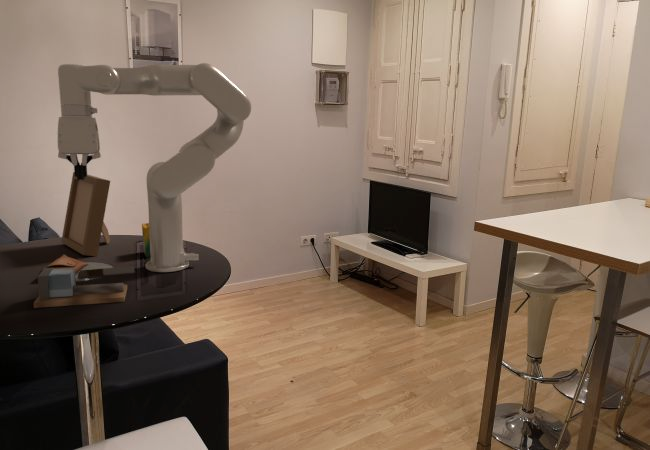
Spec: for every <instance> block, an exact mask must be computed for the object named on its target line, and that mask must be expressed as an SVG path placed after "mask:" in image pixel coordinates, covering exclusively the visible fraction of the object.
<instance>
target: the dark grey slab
mask: <svg viewBox="0 0 650 450" xmlns="http://www.w3.org/2000/svg"><path fill="white" fill-rule="evenodd" d="M42 269H43V271H42V272H41V273H40V272H39V273H40V274H39V273H38V274H39V275H38V274H37V284H38V296H39V297H40V301H41V300H49V299H50V298H51V297H50V295H49V283H48V275H49V274H50V272H51V271H52V270H53V268H45V267H43V268H42Z"/></svg>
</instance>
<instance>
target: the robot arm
mask: <svg viewBox="0 0 650 450" xmlns="http://www.w3.org/2000/svg"><path fill="white" fill-rule="evenodd" d="M57 75H58V86H59V87H58V88H59V100H60V112H61V116H59V117H58V122H57V149H58V154H57V158H59V159H63V160H67V161H68V162H69V163H70V164H72V165H73V172H75V177H77V180H80V179H81V180H84V179H85V177H87V175H88V168H87V167H88V164H89V163H90V162H91V161H92V160H95V159H99V158H101V157H102V156H101V152H100V149H101V148H100V147H101V146H100V138H99V137H100V135H99V129H98V123H97V120H96V117H93V115H95V114H98V108H97V107H93V106H92V97H91V92H92V93H99V94H102V95H113V96H114V95H147V96H154V97H155V96H156V97H157V96H202V97H203V98H204V99H205V100H206V101H207V102H208V103H210V104H211V105H212V106H213V107H215V109H216V112H217V113H216V114H217V115H216V119H215V121H214V122H213V123H212V125H210V126H209V127H208V128H207V129H205V130H204V131H203V132H201V133H200V134H199V135H197V136H196V137H194V138H192V139H191V140H190V141H188V142H186V143H185V144H183V145H182V146H181V147H180V149H179V151H178V153H176V154H175V155H173V156H172V157H170V158H169V159H168V160H166V161H159V162H156V163H154V164H153V165H151V167H150V168H149V169H148V170H147V174H146V191H147V193H146V194H147V204H148V223H149V233H150V255H151V257H150V260H148V261H147V262H146V263H145V269H146V270H148V271H150V272H156V273H172V272H178V271H183V270H184V269H187V268H189V265H190V261H199V260H200V259H199V258H200V255H199V253H195V252H190V253H187V252H185V249H184V240H183V238H184V237H183V236H184V234H183V232H184V230H183V203H182V202H183V200H182V193H184V192H186V191H187V190H188V189H190V188H191V187H192V186H194V185H195V184H197V183H198V182H199V181H201V180H202V179H204V178H205V177H206V176H208V175H209V173H211V171H212V170H213V168H214V166H215V162H216V160H217V159H218V158H219V157H221V156H222V155H223V154H225V153H226V152H227V151H229V149H231V148H232V147H233V146H234V145H235V144H236V143H237V142H238V140H239V139H240V137H241V135H242V132H243V128H244V122H245V121H246V120H247V119H248V118H249V116H250V114H251V112H252V103H251V100H250V99H249V98H248V96H247V95H246V94H245V93H244V91H242V90H241V89H240V88H239V87H238V86H236V84H234V83H233V82H232V81H231V80H230V79H228V77H226V76H225V75H224V74H223V73H222V72H221V71H220V70H219V69H218V68H217V67H215V66H214V65H212V64H211V63H207V62H206V63H205V62H203V63H198V64H161V63H160V64H150V65H146V66H141V67H112V66H110V65H108V64H107V65H106V64H95V65H82V64H76V63H75V64H74V63H73V64H71V63H64V64H60V65H59V66H58V68H57ZM78 155H81V156H82V157H81V162H80V161H79V159H78V158H79V157H78Z"/></svg>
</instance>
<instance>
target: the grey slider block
mask: <svg viewBox="0 0 650 450" xmlns="http://www.w3.org/2000/svg"><path fill="white" fill-rule="evenodd" d="M48 283H49V295H50V297H66V296H73V286H77V285H76V275H75V270H74V269H54V270H52V271H51V272H50V274H49V275H48Z"/></svg>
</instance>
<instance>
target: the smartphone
mask: <svg viewBox="0 0 650 450" xmlns="http://www.w3.org/2000/svg"><path fill="white" fill-rule="evenodd" d="M127 275H128V276H129V275H136V270H135V266H132V265H131V266H119V267H118V266H117V267H105V268H95V269H94V268H93V269H82V270H80V271H79V272H78V279H80V280H83V279H84V280H85V279H97V278H106V277H118V276H127Z"/></svg>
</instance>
